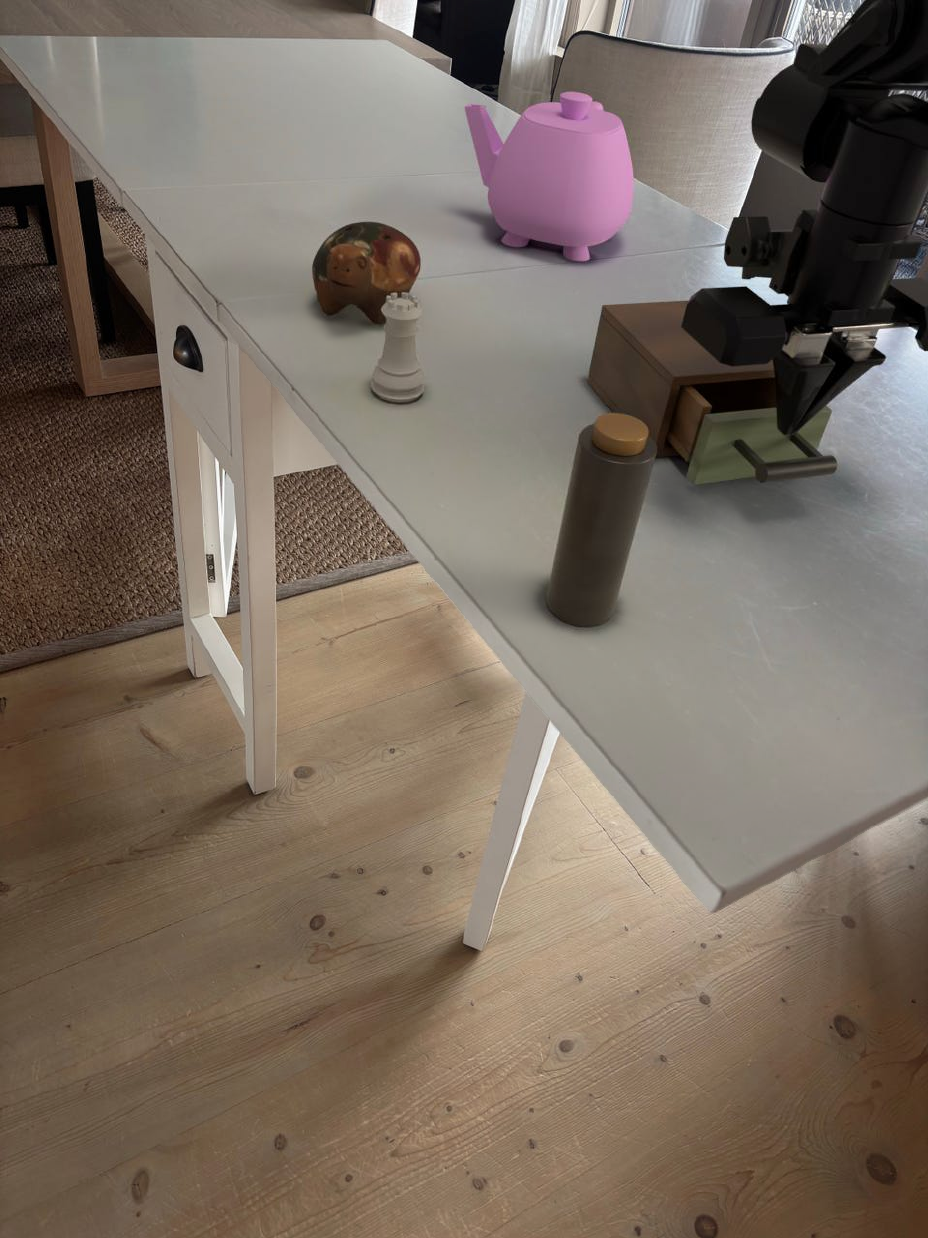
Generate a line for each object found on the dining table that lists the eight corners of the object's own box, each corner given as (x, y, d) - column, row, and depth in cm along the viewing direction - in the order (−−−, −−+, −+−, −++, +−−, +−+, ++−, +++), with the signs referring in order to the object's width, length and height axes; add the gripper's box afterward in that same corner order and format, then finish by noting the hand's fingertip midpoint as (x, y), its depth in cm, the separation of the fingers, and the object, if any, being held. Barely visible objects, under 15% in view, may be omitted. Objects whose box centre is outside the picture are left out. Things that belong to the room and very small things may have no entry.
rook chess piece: (383, 408, 76) (387, 314, 71) (362, 382, 79) (364, 290, 74) (433, 400, 78) (440, 307, 73) (410, 375, 81) (416, 284, 76)
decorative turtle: (294, 334, 84) (289, 242, 80) (339, 282, 96) (337, 199, 92) (399, 346, 84) (401, 254, 79) (432, 292, 96) (434, 209, 91)
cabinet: (775, 444, 78) (803, 366, 73) (652, 458, 75) (674, 376, 70) (700, 372, 87) (721, 298, 82) (586, 381, 83) (602, 304, 78)
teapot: (487, 190, 119) (502, 55, 109) (641, 223, 116) (670, 87, 106) (432, 238, 105) (443, 88, 95) (604, 278, 101) (635, 126, 91)
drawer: (844, 504, 71) (871, 443, 67) (726, 521, 67) (747, 457, 64) (732, 398, 82) (751, 340, 78) (626, 407, 78) (640, 348, 75)
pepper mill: (627, 612, 60) (678, 435, 52) (576, 635, 58) (619, 455, 49) (583, 574, 63) (623, 399, 54) (532, 595, 61) (566, 416, 52)
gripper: (904, 165, 66) (826, 370, 76) (671, 166, 60) (620, 387, 70) (1020, 223, 58) (916, 442, 68) (766, 231, 52) (693, 468, 63)
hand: (785, 431), depth 68 cm, fingers closed
